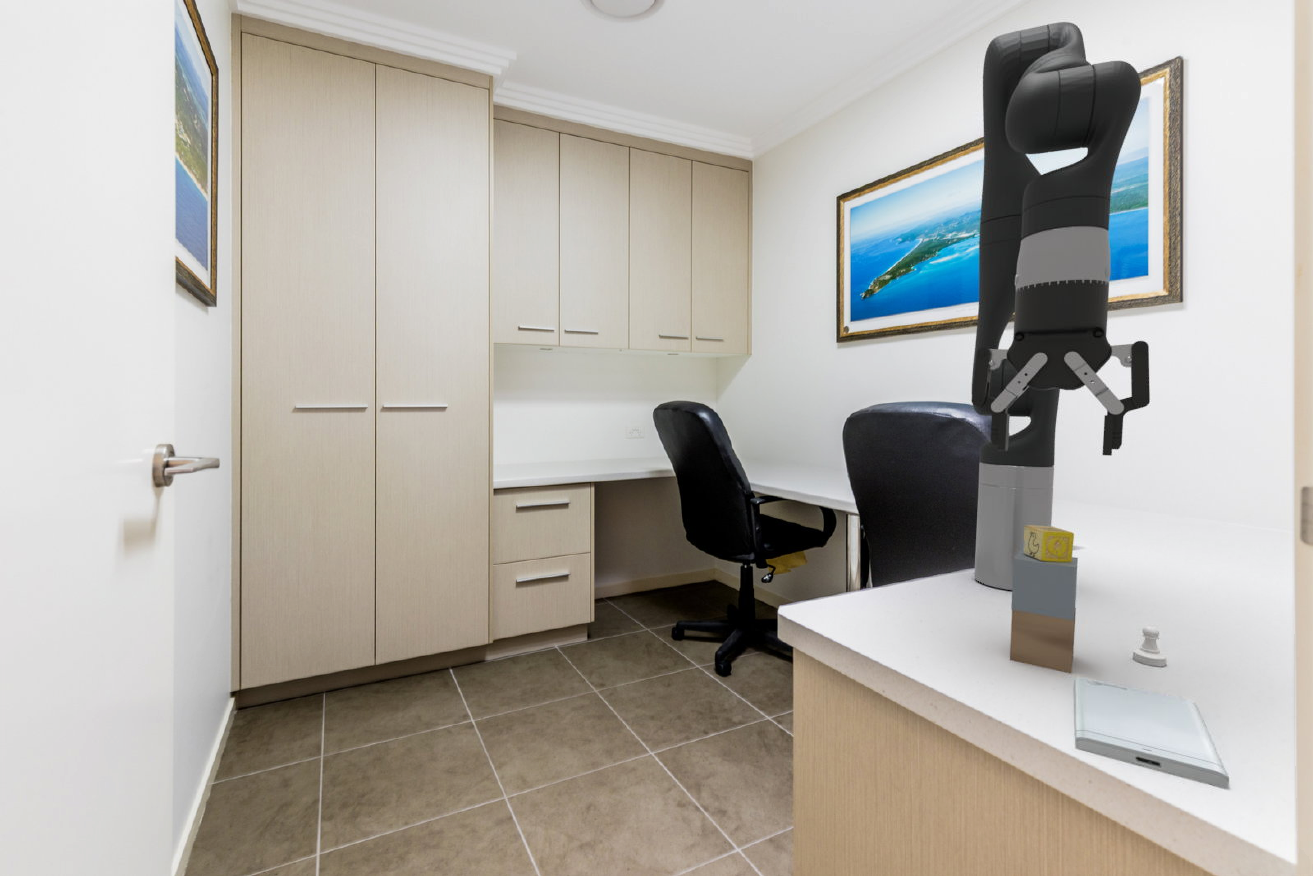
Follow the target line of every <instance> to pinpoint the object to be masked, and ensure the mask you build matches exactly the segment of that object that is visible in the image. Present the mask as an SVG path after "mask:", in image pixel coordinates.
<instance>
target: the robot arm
mask: <svg viewBox="0 0 1313 876" xmlns="http://www.w3.org/2000/svg"><path fill="white" fill-rule="evenodd" d="M1141 95H1142V81H1141V78H1140V75H1139V72H1138V71H1137V69H1136V68H1135V67H1134V66H1133V65H1132V64H1130V63H1129V62H1127V61H1124V60H1110V61H1103V62H1100V63H1099V62H1098V63H1093V64H1091V63H1090V62H1089V61H1088V60H1087V56H1086V48H1085V42H1084V37H1083V33H1082V31H1081V29H1080V28H1079V27H1078V25H1077V24H1075V23H1072V22H1069V21H1062V22H1061V21H1060V22H1059V21H1058V22H1055V23H1048V24H1043V25H1040V26H1039V25H1038V26H1035V27H1031V28H1027V29H1021V30H1015V31H1011V32H1007V33H1004V34H1000V35H998V36H995V37H994V38H993V39H991V41H990V42H989V43H988V47H987V48H986V51H985V55H984V60H983V70H982V115H983V117H982V118H983V176H982V178H983V179H982V191H981V192H982V193H981V204H980V205H981V207H980V219H979V239H978V240H979V243H978V247H979V249H978V277H979V278H978V280H979V281H978V310H977V311H978V313H977V324H976V333H975V344H974V345H975V346H974V355H973V364H972V365H973V366H972V377H971V404H972V406H973V409H974V411H975V413H977V414H978V415H979V416H985V417H987V416H988V417H991V421H990V422H991V426H990V429H991V430H990V441H987V442H985V443H983V444H982V445H980V446H981V447H980V450H979V469H978V492H977V494H978V495H977V513H976V515H977V516H976V517H977V518H976V536H975V537H976V539H975V551H974V552H975V555H974V556H975V557H974V558H975V559H974V575H973V577H975V578H974V580H975V579H976V580H977V582H978V581H979V583H980V582H982V583H981V584H983V583H984V584H983V585H986V586H989V587H994V588H997V589H1002V590H1009V591H1012V585H1013V563H1014V558H1015V556H1016V555H1017V553H1018V552H1019V550H1021V551H1023V542H1024V527H1025V525H1036V526H1052V519H1053V516H1052V515H1053V501H1054V500H1053V499H1054V475H1055V454H1056V453H1055V451H1056V430H1057V429H1056V427H1057V418H1058V409H1059V400H1060V393H1061V390H1064V391H1076V390H1079V389H1081V388H1084V386H1085V387H1086V388H1087V389H1088V390H1089V391H1090V392H1091V393H1092V395H1093V396H1094V397H1095V398H1096V399H1097V400H1098V401H1099V403H1100V404H1101V405H1102V406H1103V407H1104V408H1105V409H1106V412H1107V413H1106V415H1104V418H1103V419H1104V421H1103V439H1102V453H1101V454H1102V456H1112V455H1113V453H1112V452H1113V450H1119V449H1120V448H1121V446H1122V444H1123V430H1124V429H1123V427H1124V416H1125V415H1126V414H1127V413H1129V412H1131V411H1135V410H1139V409H1143V408H1145V407H1147V406H1149V404H1150V400H1151V398H1150V395H1151V394H1150V391H1151V390H1150V389H1151V388H1150V349H1149V347H1150V346H1149V344H1148V342H1146V341H1145V340H1137V341H1135V342H1134V343H1127V344H1117V345H1116V344H1114V345H1111V344H1110V342H1109V340H1108V338H1107V330H1108V315H1109V314H1108V312H1109V311H1108V309H1109V294H1110V277H1111V273H1112V272H1111V271H1112V270H1111V248H1110V247H1111V246H1110V238H1109V233H1110V232H1109V229H1110V213H1111V212H1110V210H1111V195H1112V187H1113V179H1114V177H1115V172H1116V166H1117V164H1118V160H1119V157H1120V153H1121V150H1122V148H1123V144H1124V143H1125V140H1126V137H1127V135H1128V133H1129V130H1130V127H1131V124H1132V122H1133V121H1134V117H1135V114H1136V113H1137V112H1136V111H1137V109H1138V106H1139V103H1140V99H1141ZM1085 148H1086V149H1087V152H1086V155H1085V156H1084V157H1083V158H1081V159H1080V160H1078V161H1076V162H1074V163H1070V164H1068V165H1065V166H1063V167H1060V168H1056V169H1053V170H1049V171H1048V172H1045V173H1043V174H1041V173H1040V171H1039V170H1038V169H1037V167H1036V166H1035V165H1034V164H1033V162H1032V161H1031V160H1030V158H1029V157H1028V156H1027V155H1037V154H1046V153H1047V154H1048V153H1054V152H1061V151H1068V150H1069V151H1070V150H1077V149H1085ZM1013 316H1014V317H1013ZM1012 317H1013V318H1014V319H1013V338H1012V342H1011V345H1010V346H1009V348H1008V349H1007V348H1005V349H1003V348H1001V349H999V347H1000V343H1001V339H1002V337H1003V334H1004V332H1005V330H1006V328H1007V326H1008V324H1009V322H1010V320H1011V318H1012ZM1111 357H1115V358H1117V359H1118V360H1119V363H1120V365H1121V366H1122V367H1123V368H1130V377H1131V378H1130V384H1131V388H1130V389H1131V393H1130V394H1131V396H1129V397H1128V396H1127V397H1125V398H1122V399H1119V398H1118V397H1117V396H1116V395H1115V394H1114V392H1112V390H1111V389H1110V388H1109V387H1108V386H1107V384H1106V383H1105V382H1104V381H1103V380H1102V379H1101V378H1100V377H1099V376H1098V374H1097V373H1098V372H1099V371H1100V370H1101V369H1102V368H1103V367H1104V366H1105V365H1106V364H1107V362H1108V361H1110V359H1111ZM1010 417H1018V418H1019V417H1020V418H1021V417H1022V418H1023V417H1024V418H1030V422H1029V424H1028V425H1027V426H1026V427H1024V428H1023V429H1021V430H1019V431H1017V432H1016V433H1014V434H1011V435H1010ZM976 580H975V581H976Z"/></svg>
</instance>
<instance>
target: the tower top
mask: <svg viewBox="0 0 1313 876" xmlns="http://www.w3.org/2000/svg"><path fill="white" fill-rule="evenodd" d="M1078 559H1079V557H1076V556H1075V557H1074V556H1072V562H1049V561H1041V560H1039V559H1036V558H1034V557H1031V556H1029V555H1027V554H1024V553H1023V551H1021V550H1019V552H1018V553H1017V555H1016V556H1015V558H1014V563H1013V585H1012V590H1011V591H1012V593H1011V611H1012V610H1017V611H1022V612H1028V613H1034V614H1039V615H1045V616H1050V617H1056V618H1061V619H1067V620H1072V621H1073V619H1074V613H1075V608H1076V603H1077V602H1076V601H1077V600H1076V599H1077V598H1076V597H1077V583H1078V582H1077V579H1078V578H1077V577H1078Z"/></svg>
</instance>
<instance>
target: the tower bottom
mask: <svg viewBox="0 0 1313 876" xmlns="http://www.w3.org/2000/svg"><path fill="white" fill-rule="evenodd" d="M1076 609H1077V608H1076V607H1075V613H1074V619H1073V621H1072V620H1067V619H1061V618H1056V617H1050V616H1045V615H1039V614H1034V613H1028V612H1022V611H1017V610H1011V627H1010V629H1011V630H1010V644H1009V645H1010V648H1009V649H1010V651H1009V661H1013V662H1018V663H1022V664H1026V665H1030V666H1035V667H1038V668H1039V667H1040V668H1043V669H1047V670H1053V671H1057V672H1061V673H1062V672H1063V673H1067V674H1071V675H1072V672H1073V664H1074V653H1075V651H1074V650H1075V632H1076V631H1075V630H1076Z"/></svg>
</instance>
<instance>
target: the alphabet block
mask: <svg viewBox="0 0 1313 876" xmlns="http://www.w3.org/2000/svg"><path fill="white" fill-rule="evenodd" d="M1074 539H1075V533H1074V532H1072V531H1068V530H1066V529H1062V528H1060V527H1059V528H1058V527H1055V526H1052V525H1051V526H1036V525H1025V527H1024V542H1023V553H1024V554H1027V555H1029V556H1031V557H1034V558H1036V559H1039V560H1041V561H1049V562H1072V557H1073V551H1074V550H1073V549H1074Z"/></svg>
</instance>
